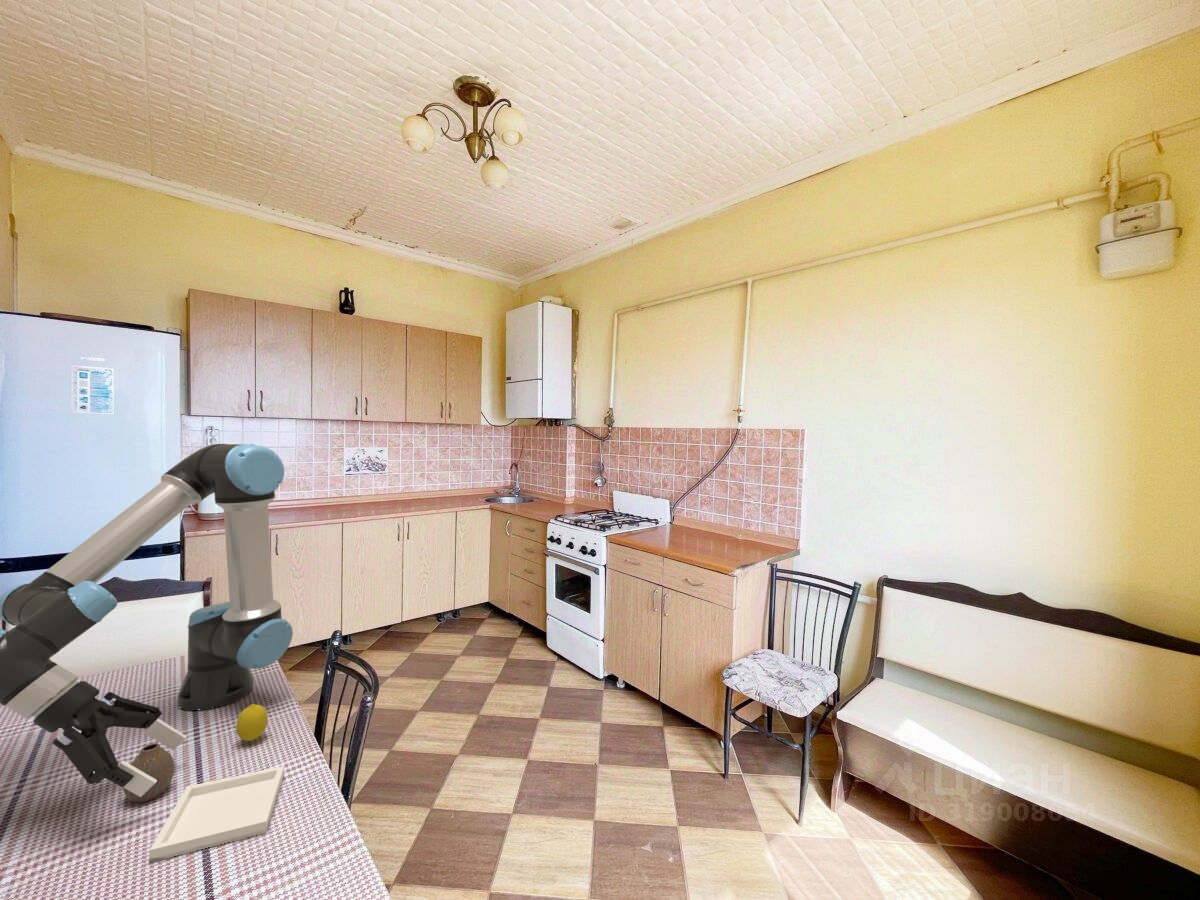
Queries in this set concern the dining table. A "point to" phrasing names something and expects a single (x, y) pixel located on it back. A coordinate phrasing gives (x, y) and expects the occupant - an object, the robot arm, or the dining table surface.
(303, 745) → the dining table surface
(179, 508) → the robot arm
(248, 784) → the holder tray
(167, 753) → the vase
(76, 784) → the dining table surface
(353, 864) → the dining table surface
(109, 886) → the dining table surface
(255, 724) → the lemon
